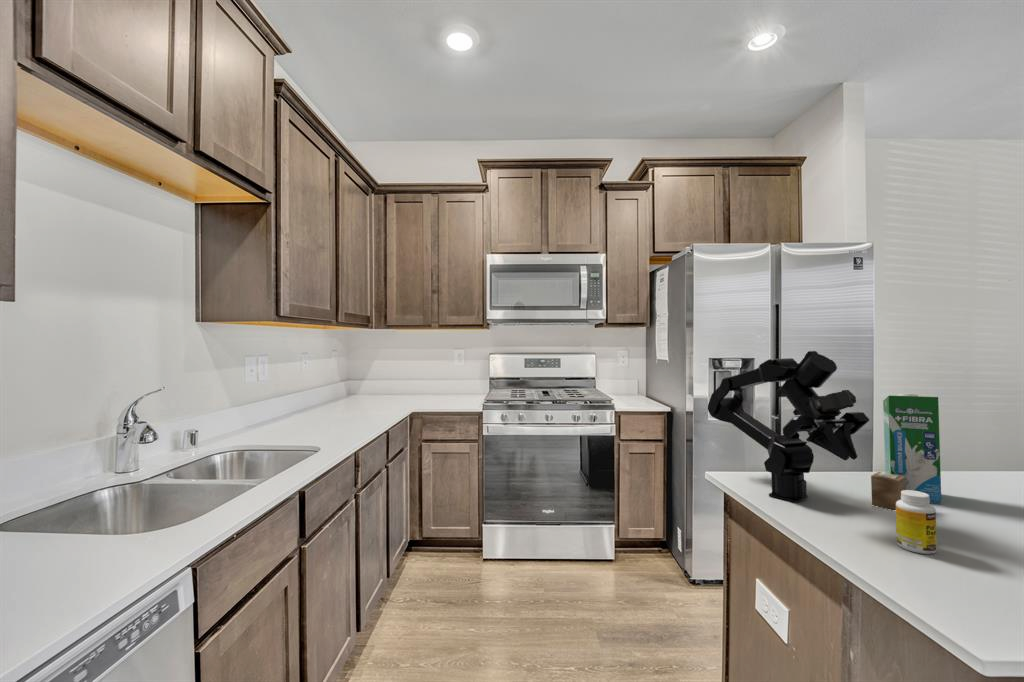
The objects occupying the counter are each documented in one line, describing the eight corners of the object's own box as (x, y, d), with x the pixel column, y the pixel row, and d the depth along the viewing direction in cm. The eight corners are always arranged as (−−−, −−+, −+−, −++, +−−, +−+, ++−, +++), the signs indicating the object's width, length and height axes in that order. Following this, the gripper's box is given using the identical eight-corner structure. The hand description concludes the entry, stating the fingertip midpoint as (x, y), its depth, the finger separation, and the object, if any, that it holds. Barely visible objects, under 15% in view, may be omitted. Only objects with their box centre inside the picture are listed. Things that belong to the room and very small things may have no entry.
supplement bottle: (931, 558, 80) (929, 500, 80) (892, 547, 85) (890, 492, 85) (941, 549, 83) (939, 494, 83) (902, 539, 88) (901, 486, 88)
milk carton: (932, 492, 113) (929, 392, 113) (941, 504, 105) (938, 396, 106) (885, 487, 118) (882, 391, 118) (891, 497, 110) (888, 395, 110)
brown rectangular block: (871, 505, 106) (871, 474, 106) (879, 501, 109) (878, 470, 109) (899, 512, 102) (898, 479, 102) (906, 507, 104) (905, 475, 104)
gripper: (791, 379, 99) (839, 440, 89) (859, 376, 104) (913, 434, 93) (764, 410, 107) (806, 470, 96) (829, 406, 111) (876, 462, 100)
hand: (851, 458), depth 96 cm, fingers closed
